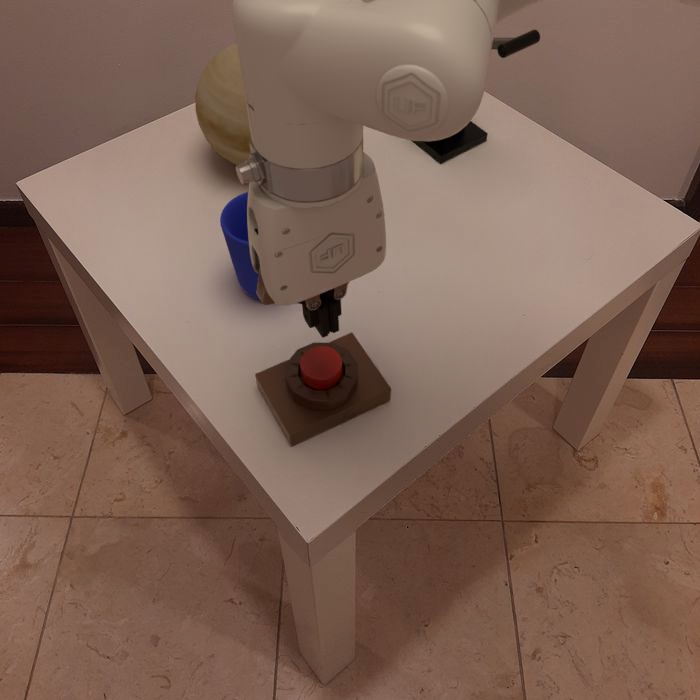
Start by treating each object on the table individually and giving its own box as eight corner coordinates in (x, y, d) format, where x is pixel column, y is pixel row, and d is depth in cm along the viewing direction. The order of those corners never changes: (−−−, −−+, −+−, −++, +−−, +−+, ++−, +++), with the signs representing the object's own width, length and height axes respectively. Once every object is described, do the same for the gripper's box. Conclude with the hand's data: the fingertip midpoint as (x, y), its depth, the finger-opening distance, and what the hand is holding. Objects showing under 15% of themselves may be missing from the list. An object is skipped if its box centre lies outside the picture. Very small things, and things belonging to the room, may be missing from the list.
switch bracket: (486, 140, 99) (504, 36, 87) (440, 164, 96) (451, 59, 84) (438, 104, 104) (448, 1, 92) (393, 125, 101) (397, 21, 89)
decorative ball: (190, 140, 99) (167, 35, 87) (292, 108, 103) (283, 4, 91) (231, 208, 91) (211, 102, 79) (340, 171, 95) (337, 65, 83)
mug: (348, 274, 84) (347, 207, 76) (256, 320, 80) (244, 255, 72) (309, 232, 89) (304, 165, 81) (220, 274, 84) (205, 208, 77)
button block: (352, 344, 78) (351, 320, 75) (390, 400, 74) (391, 377, 71) (257, 386, 75) (252, 363, 72) (291, 447, 71) (288, 425, 68)
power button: (330, 350, 73) (330, 339, 72) (349, 379, 71) (349, 368, 70) (294, 366, 72) (292, 355, 71) (312, 396, 70) (311, 386, 69)
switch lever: (541, 47, 81) (539, 24, 80) (508, 63, 79) (504, 39, 78) (458, 46, 92) (455, 26, 91) (427, 60, 90) (423, 39, 89)
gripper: (230, 226, 47) (264, 388, 62) (430, 151, 51) (417, 320, 66) (188, 161, 51) (229, 327, 66) (376, 96, 55) (375, 266, 70)
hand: (323, 323), depth 66 cm, fingers closed
